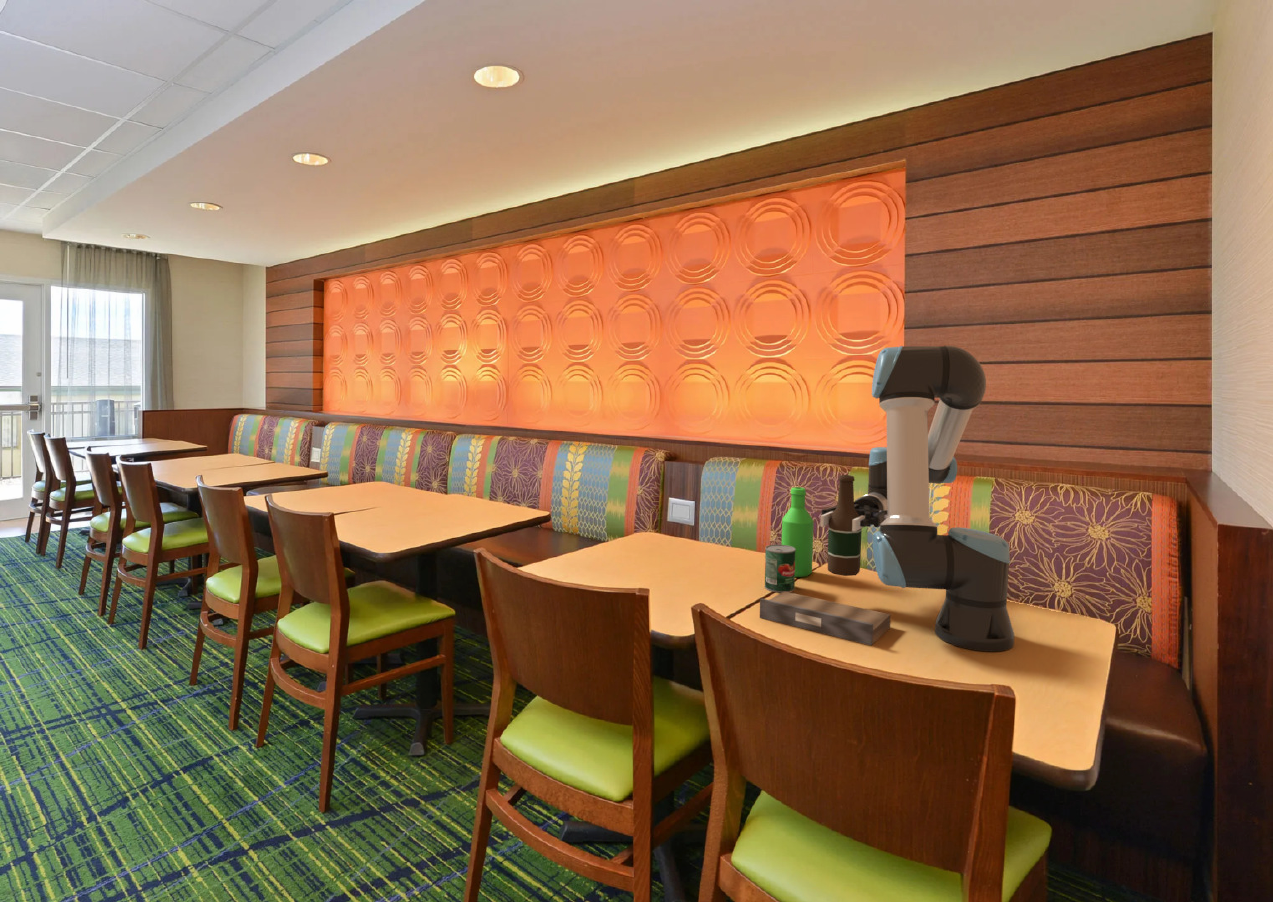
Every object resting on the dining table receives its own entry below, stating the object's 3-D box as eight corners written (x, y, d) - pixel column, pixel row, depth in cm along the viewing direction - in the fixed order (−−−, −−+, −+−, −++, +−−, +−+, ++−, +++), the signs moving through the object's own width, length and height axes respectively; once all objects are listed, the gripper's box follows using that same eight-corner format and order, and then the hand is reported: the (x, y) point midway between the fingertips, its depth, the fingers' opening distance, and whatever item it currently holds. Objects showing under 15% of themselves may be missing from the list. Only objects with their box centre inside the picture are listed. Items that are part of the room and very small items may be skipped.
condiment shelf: (890, 627, 145) (890, 607, 145) (870, 645, 135) (871, 625, 135) (783, 602, 161) (784, 585, 161) (759, 617, 151) (759, 599, 151)
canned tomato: (768, 581, 178) (769, 543, 177) (797, 585, 175) (798, 546, 173) (761, 590, 171) (761, 550, 170) (791, 594, 167) (791, 553, 166)
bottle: (776, 569, 190) (778, 485, 187) (805, 568, 190) (807, 485, 188) (786, 578, 181) (788, 490, 178) (816, 577, 182) (819, 490, 179)
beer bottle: (862, 577, 155) (865, 478, 152) (828, 575, 156) (831, 477, 154) (857, 568, 162) (861, 474, 160) (825, 566, 164) (828, 473, 161)
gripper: (908, 527, 166) (879, 545, 148) (833, 517, 178) (797, 532, 160) (909, 499, 165) (880, 513, 147) (833, 491, 178) (798, 503, 160)
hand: (837, 523), depth 154 cm, fingers closed on beer bottle, 7 cm apart
